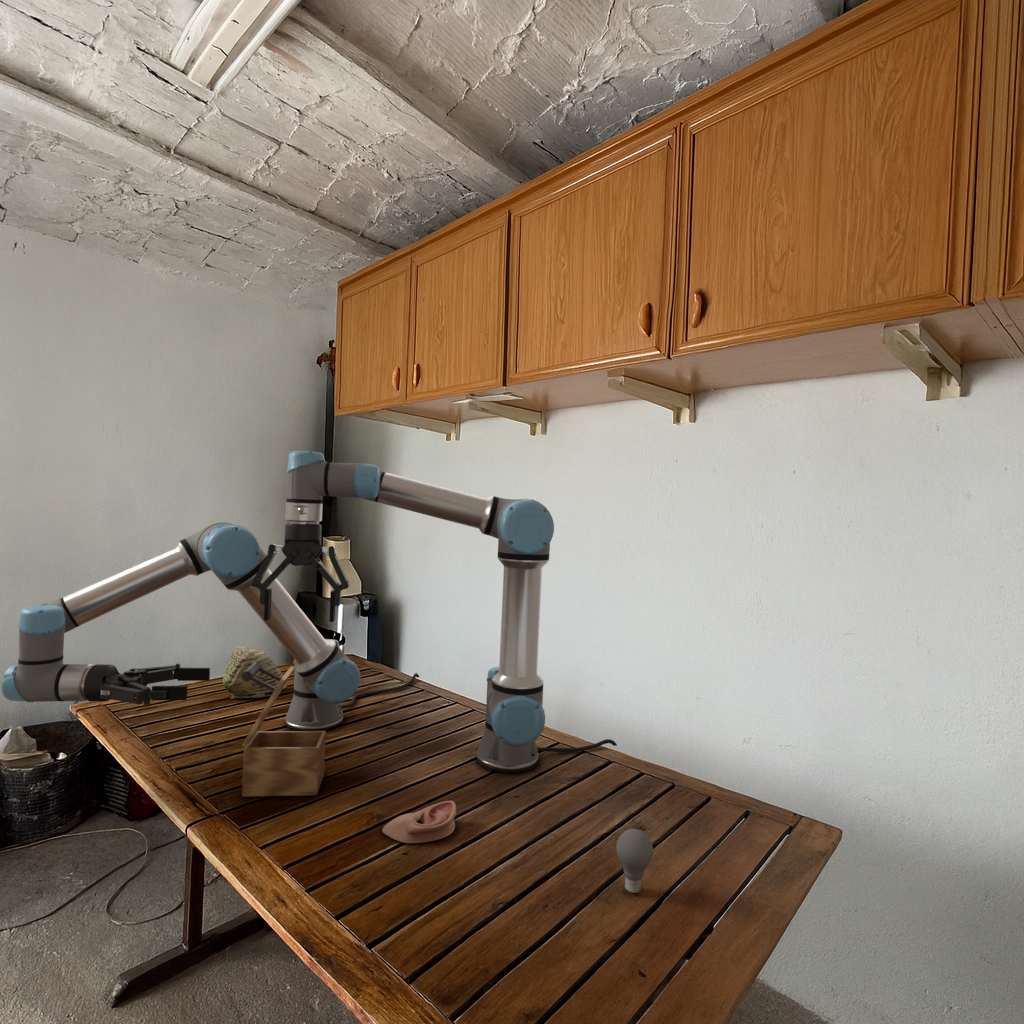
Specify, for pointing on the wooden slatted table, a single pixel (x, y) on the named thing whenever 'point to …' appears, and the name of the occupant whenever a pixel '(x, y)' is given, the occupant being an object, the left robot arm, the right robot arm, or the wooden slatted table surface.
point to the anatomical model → (423, 824)
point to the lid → (250, 675)
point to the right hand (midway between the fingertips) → (299, 620)
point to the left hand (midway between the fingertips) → (198, 683)
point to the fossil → (249, 689)
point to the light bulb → (634, 857)
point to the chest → (284, 763)
